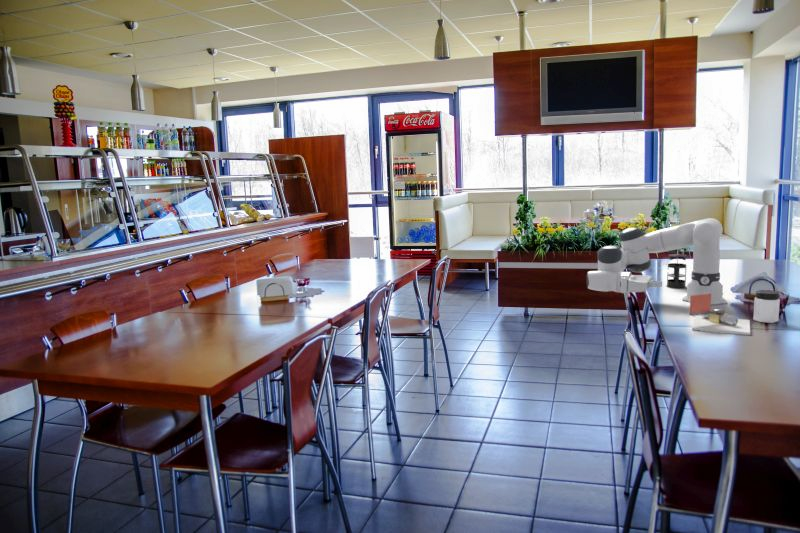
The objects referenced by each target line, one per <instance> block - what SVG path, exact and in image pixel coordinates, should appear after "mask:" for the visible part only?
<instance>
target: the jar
mask: <svg viewBox="0 0 800 533" xmlns="http://www.w3.org/2000/svg"><path fill="white" fill-rule="evenodd" d="M780 301H781V299H780V292H779V291H775V290H770V289H769V290H767V289H759V290H756V292H755V297H754V301H753V317H752V320H753V321H756V322H759V323H769V324H773V323H778V322H779V317H780V316H779V314H780V306H781V305H780V304H781V303H780Z"/></svg>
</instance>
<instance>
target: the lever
mask: <svg viewBox="0 0 800 533" xmlns="http://www.w3.org/2000/svg"><path fill="white" fill-rule="evenodd" d="M711 306H712V304H711V294H700V295H691V296H690V302H689V313H688V315H689V316H691V317H693V316H694V317H695V316H701V315H705V314H714V313H718V314H724V313H726V310H725V309H723V308H714V309H712V308H711Z"/></svg>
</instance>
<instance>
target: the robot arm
mask: <svg viewBox="0 0 800 533" xmlns="http://www.w3.org/2000/svg"><path fill="white" fill-rule="evenodd" d="M723 231H724V230H723V225H722V223H721V222H720V221H719V220H718V219H716V218H711V217H709V218H707V217H706V218H703V219H699V220H694V221H691V222H686V223H682V224H679V225H674V226H669V227H665V228H661V229H657V230H653V231H651V232H648V233H646V231H643V230H642V229H641V228H638V227H628V228H627V227H626V228H625V229H624V230H622V231H621V232H620V233H619V241H620V245H621V246H620V245H618V244H617V245H614V244H613V245H612V244H611V245H606V246H603V247H600V248H599V249H598V250H597V251H596V254H597V270H589V271H587V273H586V287H587V289H588V290H592V291H598V292H607V293H608V292H615V293H621V294H630V293H645V292H647V291H648V289H649V288H658V287H659V288H660V287H662V286H663V281H661V280H660V281H659V280H656V279H655V280H653V276H652V275H647V274H645V275H643V274H632V273H643V272H645V271H647V270H649V269H650V268H651V264H652V263H651V259H650V254H659V253H665V252H670V251H675V250H677V249H678V250H681V249H685V248H688V247H689V248H690V247H693V248H692V250H693V251H692V252H693V258H692V259H693V260H692V261H693V262H692V264H693V265H692V271H691V275H690V276H691V280H690V281H689V282H688V283H687V285H686V288H687V290H686V296H683V297H682V298H681V299H682V301H685V302H688V303H690V296H691V295H700V294H711V305H721V304H728V301H727V300H726V299H725V298H724V297H723V295H724V293H723V291H724V289H723V288H724V286H723V284H722V283H721V282H720V278H721V273H720V263H721V262H720V261H721V260H720V259H721V255H720V237H721V236H722V234H723ZM624 270H628V271H624Z"/></svg>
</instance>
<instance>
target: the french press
mask: <svg viewBox="0 0 800 533" xmlns="http://www.w3.org/2000/svg"><path fill="white" fill-rule="evenodd" d="M676 250H677V253H674V254H673V253H672V254H668V255H667V256H668V259H669V260H670V261H671V260H674V259H676V262H674V263H671V262H670V263H667V268H669V269H670V268H672V269H673V273H667V280H666V287H667V288H670V289H685V287H686V288H687V285H686V282H687V281H686V280H687V278H686V277H687V264H685V263H678V260H679V259H680V260H684V261H686V260H687V259H686V258H687V256H688V255H686V254H681V253H679V249H676ZM680 269H684V270H685V272H684V274H682V273H680ZM669 277H671V279H670V278H669ZM680 278H684V279H680Z"/></svg>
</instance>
